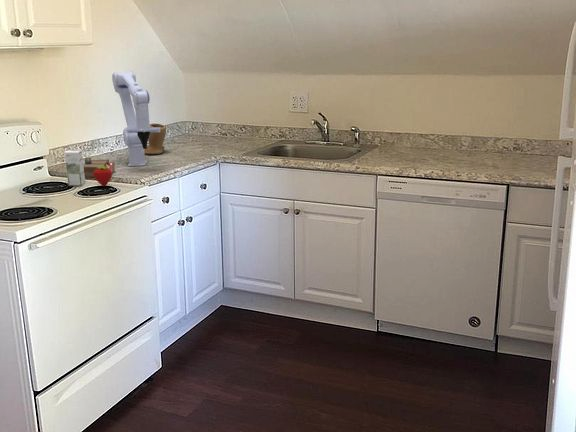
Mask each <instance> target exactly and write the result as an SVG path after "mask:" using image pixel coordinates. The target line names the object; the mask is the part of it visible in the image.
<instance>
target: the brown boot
mask: <svg viewBox="0 0 576 432" xmlns="http://www.w3.org/2000/svg"><path fill="white" fill-rule="evenodd" d="M150 127H155V128H160V132H150V135H149V138H148V144H147V149H144V153H145V154H148V155H157V154H158V155H159V154H163V153H164V151H165V149H166V147H165V146H164V141H165V138H166V135H167V126H166V125H164V124H161V123H155V122H153V123H150Z"/></svg>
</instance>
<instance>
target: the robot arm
mask: <svg viewBox="0 0 576 432" xmlns="http://www.w3.org/2000/svg"><path fill="white" fill-rule="evenodd" d="M111 78H112V79H111V80H112V85H113V88H114V91H115V93H117V94H119V97H120V101H121V105H122V106H121V107H122V109H123V113H124V117H125V123H126V127H125V128H124V129H123V131H122V135H123V137H122V138H123V143H124V145H125V146H127V149H128V161H129V163H128V164H127V167H137V166H146V165H147V162H148V160H146V156H145V154H146V153H144V150H145V149H147V146H148V143H149V141H148V138H149V135H150V132H160V128H155V127H150V124H151V123H150V112H149V104H150V100H151V99H150V93H149V91H148V90H144V89H143V87H142V86H141V85H140V83H138V82H136V81H137V77H136V74H135V72H134V71H132V70H131V71H119V72H115V71H114V72H113V73H112V77H111Z"/></svg>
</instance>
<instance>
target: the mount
mask: <svg viewBox="0 0 576 432" xmlns="http://www.w3.org/2000/svg"><path fill="white" fill-rule="evenodd" d="M91 162H92V164H85V163H83V167H84V176H85V180H86V179H87V180H88V179H95V178H94V175H93V172H94V171H95V170H97V169H99V168H97V167H102V166H103V165H104V167H105V166H107V164H108V162H110V160H109V159H91ZM102 162H103V163H102Z"/></svg>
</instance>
